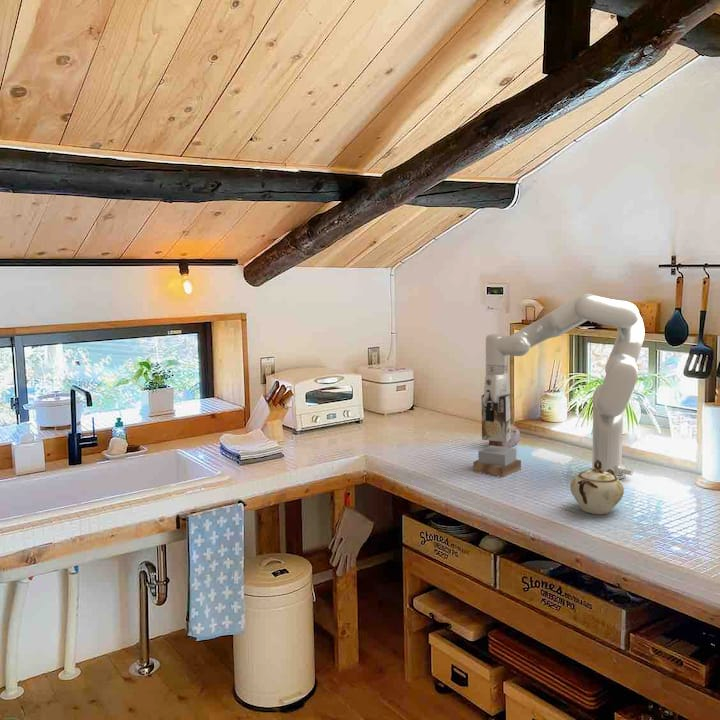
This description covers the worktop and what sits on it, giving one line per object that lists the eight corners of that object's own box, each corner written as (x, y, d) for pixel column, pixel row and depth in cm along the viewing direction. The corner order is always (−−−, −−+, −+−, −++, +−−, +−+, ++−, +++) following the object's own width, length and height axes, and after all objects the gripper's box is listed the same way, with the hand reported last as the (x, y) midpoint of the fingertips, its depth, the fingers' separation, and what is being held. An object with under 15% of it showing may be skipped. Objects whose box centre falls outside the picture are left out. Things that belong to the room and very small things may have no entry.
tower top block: (516, 459, 253) (516, 448, 253) (504, 466, 245) (504, 455, 245) (490, 456, 259) (490, 445, 259) (478, 462, 251) (478, 451, 250)
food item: (504, 442, 293) (504, 418, 292) (521, 445, 288) (521, 421, 287) (486, 449, 283) (486, 424, 282) (504, 452, 278) (504, 427, 277)
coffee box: (511, 438, 252) (511, 393, 250) (506, 442, 246) (506, 396, 244) (486, 436, 256) (486, 392, 254) (480, 440, 250) (480, 395, 248)
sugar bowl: (589, 496, 222) (589, 449, 220) (635, 506, 212) (637, 457, 210) (556, 512, 209) (557, 462, 207) (604, 524, 198) (605, 472, 196)
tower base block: (520, 471, 253) (520, 460, 252) (502, 479, 244) (502, 467, 244) (492, 465, 261) (492, 454, 261) (473, 472, 253) (473, 461, 252)
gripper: (491, 373, 239) (491, 424, 241) (519, 367, 251) (518, 416, 254) (473, 371, 244) (473, 421, 246) (500, 365, 257) (500, 413, 259)
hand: (496, 418), depth 250 cm, fingers closed on coffee box, 7 cm apart
